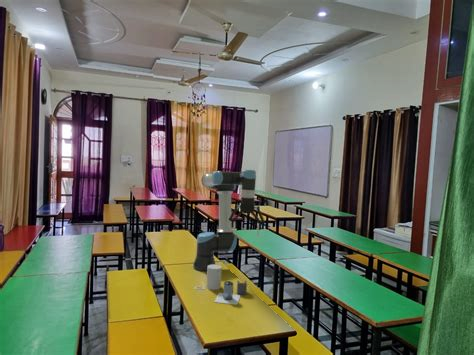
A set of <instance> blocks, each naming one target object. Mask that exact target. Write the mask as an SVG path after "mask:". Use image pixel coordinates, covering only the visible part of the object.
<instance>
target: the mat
mask: <svg viewBox="0 0 474 355" xmlns="http://www.w3.org/2000/svg"><path fill="white" fill-rule="evenodd" d="M241 296H242V295H237V294H234V293H233V299H232V300H224V299H223V292H218V294H217V296H216V297H215V300H214V301H213V302H214V303H216V304H226V305H235V306H238V304H239V302H240V298H241Z"/></svg>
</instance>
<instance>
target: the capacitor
mask: <svg viewBox="0 0 474 355" xmlns="http://www.w3.org/2000/svg"><path fill="white" fill-rule="evenodd" d="M222 293H223V299H224V300H232V299H233V294H234V282H233V281H230V280H225V281H224V283H223V292H222Z"/></svg>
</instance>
